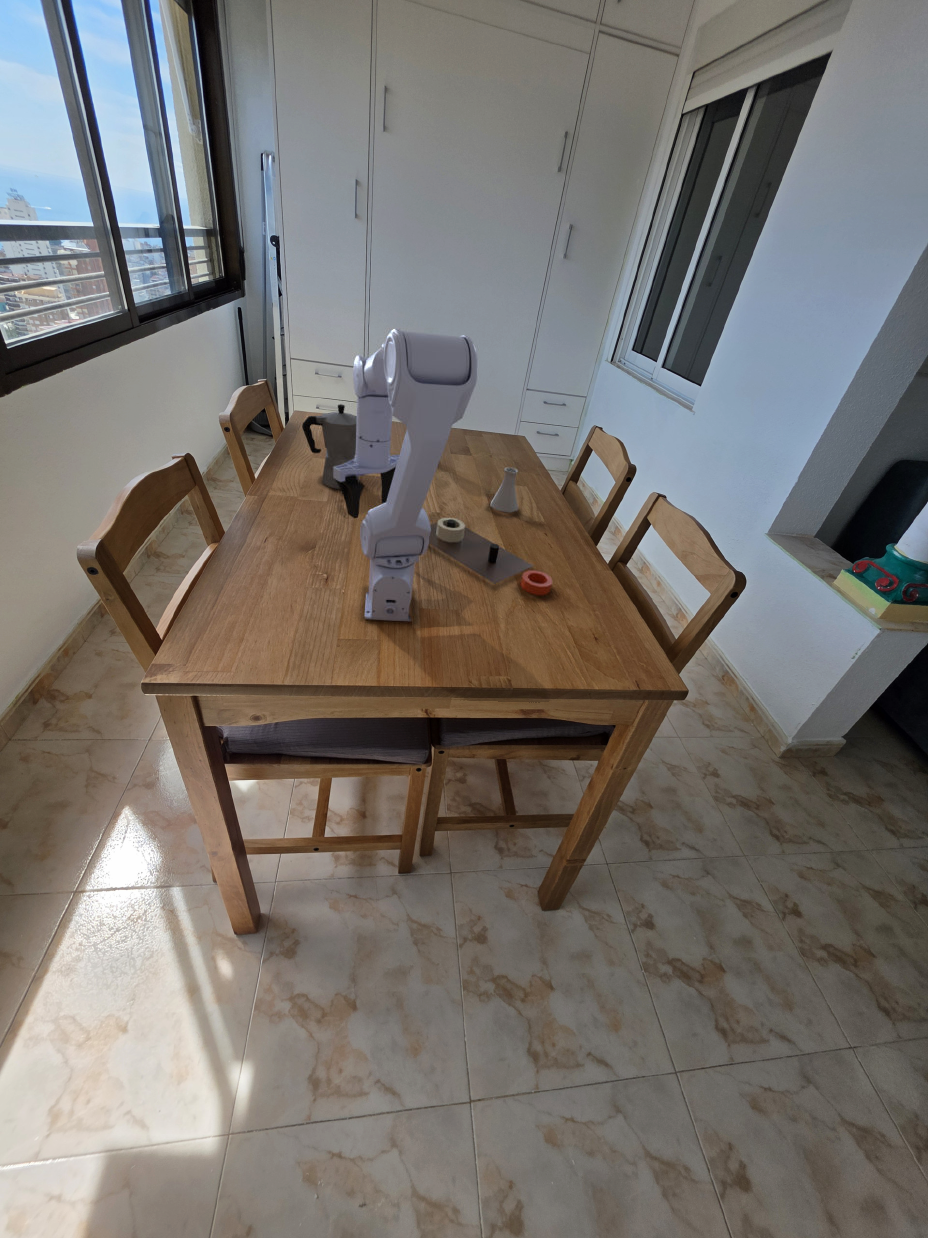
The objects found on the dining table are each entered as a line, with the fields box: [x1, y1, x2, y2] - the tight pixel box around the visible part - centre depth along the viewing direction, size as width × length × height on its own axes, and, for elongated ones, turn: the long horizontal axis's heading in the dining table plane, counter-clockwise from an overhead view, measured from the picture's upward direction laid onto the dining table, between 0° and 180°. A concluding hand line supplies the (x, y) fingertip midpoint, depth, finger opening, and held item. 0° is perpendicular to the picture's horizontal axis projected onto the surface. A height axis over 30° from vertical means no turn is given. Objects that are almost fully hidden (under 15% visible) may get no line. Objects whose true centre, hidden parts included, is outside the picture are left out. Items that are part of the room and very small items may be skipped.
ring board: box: [429, 519, 534, 585], centre depth 108 cm, size 24×12×4 cm, turn 46°
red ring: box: [520, 569, 553, 596], centre depth 100 cm, size 6×6×3 cm
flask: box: [489, 466, 519, 513], centre depth 126 cm, size 7×7×10 cm
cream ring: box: [436, 517, 466, 542], centre depth 111 cm, size 6×6×3 cm
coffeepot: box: [301, 404, 360, 490], centre depth 123 cm, size 15×9×18 cm, turn 121°
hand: (370, 511), depth 97 cm, fingers open, 7 cm apart
